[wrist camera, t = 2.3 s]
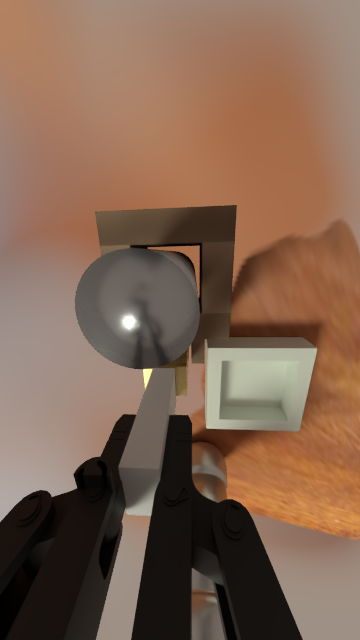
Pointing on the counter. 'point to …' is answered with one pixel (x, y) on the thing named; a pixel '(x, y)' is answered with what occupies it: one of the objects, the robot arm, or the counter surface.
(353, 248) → the counter surface
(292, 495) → the counter surface
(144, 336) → the grey metal peg
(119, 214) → the socket block
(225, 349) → the tray
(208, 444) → the plastic bottle
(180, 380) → the brass block
